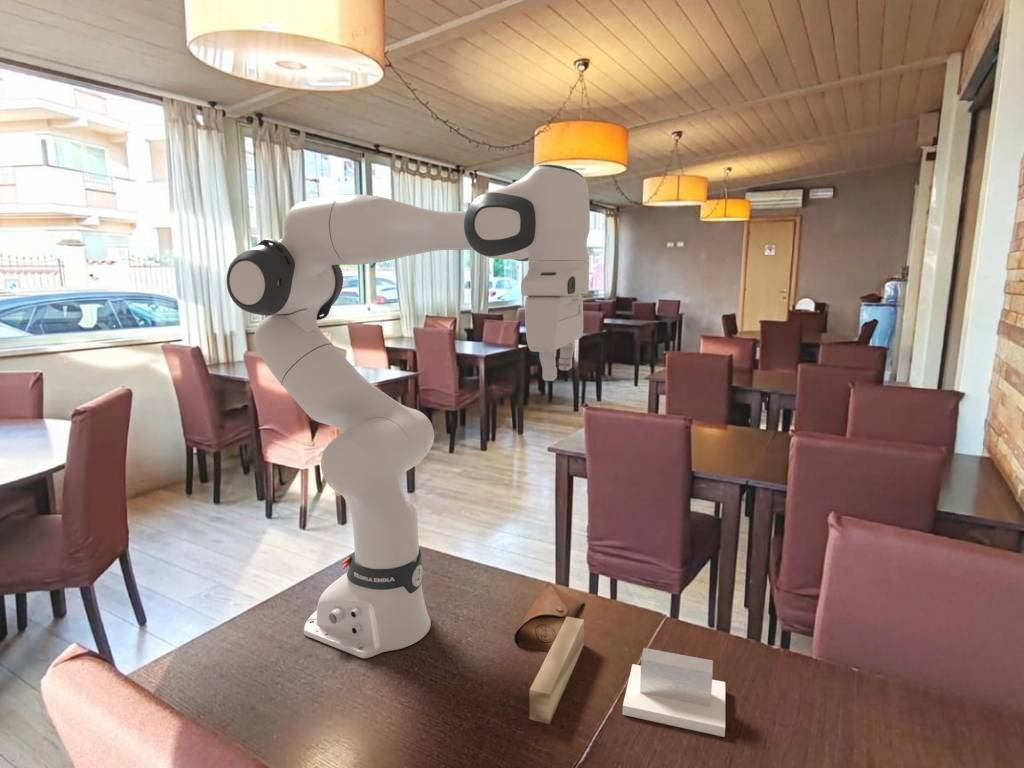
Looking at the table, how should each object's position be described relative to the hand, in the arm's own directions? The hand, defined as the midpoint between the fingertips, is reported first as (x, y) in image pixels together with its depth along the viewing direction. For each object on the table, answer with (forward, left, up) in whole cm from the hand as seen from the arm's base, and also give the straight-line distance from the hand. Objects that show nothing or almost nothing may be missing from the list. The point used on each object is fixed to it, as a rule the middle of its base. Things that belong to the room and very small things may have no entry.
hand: (557, 374), depth 93 cm
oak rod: (+2, -4, -48) cm, 48 cm away
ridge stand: (+19, -4, -48) cm, 52 cm away
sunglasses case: (-4, +11, -48) cm, 50 cm away
